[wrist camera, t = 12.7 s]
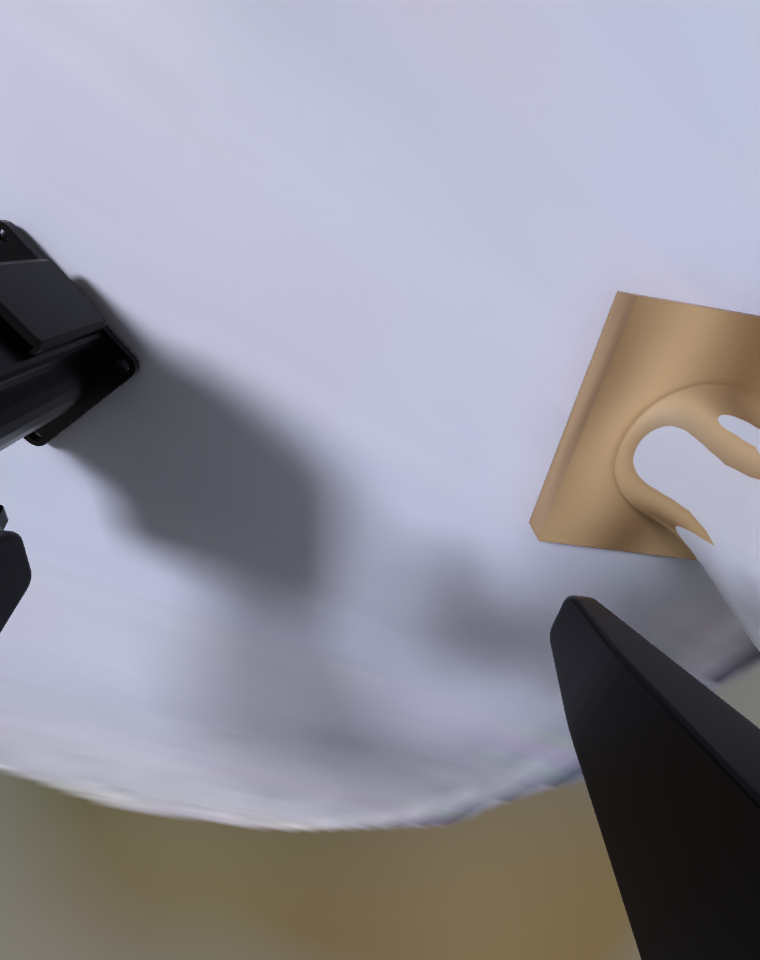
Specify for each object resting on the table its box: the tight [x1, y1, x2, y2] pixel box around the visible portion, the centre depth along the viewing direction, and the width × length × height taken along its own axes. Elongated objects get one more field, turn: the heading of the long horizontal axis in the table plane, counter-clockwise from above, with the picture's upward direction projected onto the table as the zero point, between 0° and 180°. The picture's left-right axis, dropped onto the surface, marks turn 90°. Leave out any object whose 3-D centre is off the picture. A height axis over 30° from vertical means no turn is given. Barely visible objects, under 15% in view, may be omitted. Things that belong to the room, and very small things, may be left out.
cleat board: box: [529, 291, 760, 560], centre depth 17 cm, size 10×11×8 cm
